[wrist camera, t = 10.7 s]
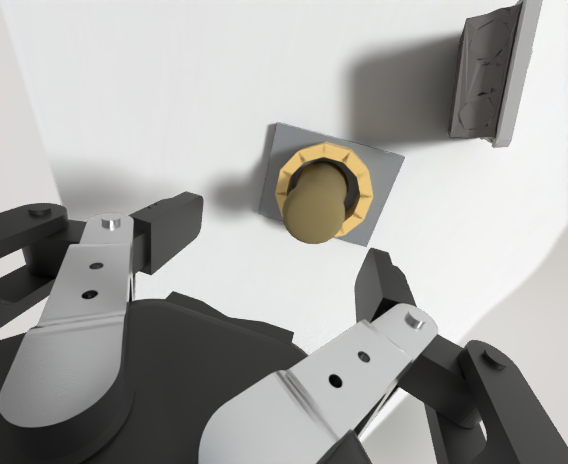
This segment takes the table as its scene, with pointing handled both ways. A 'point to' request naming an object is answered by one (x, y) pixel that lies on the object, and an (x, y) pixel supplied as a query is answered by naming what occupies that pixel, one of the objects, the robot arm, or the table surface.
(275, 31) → the table surface
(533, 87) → the table surface
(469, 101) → the electrical switch
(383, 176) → the collar plate
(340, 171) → the cork
